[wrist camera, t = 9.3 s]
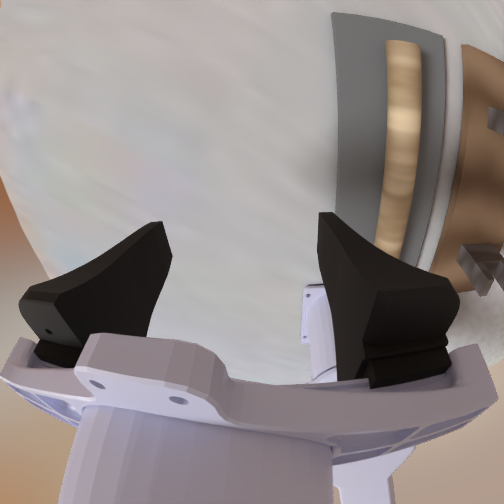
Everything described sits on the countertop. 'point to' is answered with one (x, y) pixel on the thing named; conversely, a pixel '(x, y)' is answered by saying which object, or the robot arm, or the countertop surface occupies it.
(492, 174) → the hook stand
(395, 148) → the rail
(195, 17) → the countertop surface
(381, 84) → the mat
